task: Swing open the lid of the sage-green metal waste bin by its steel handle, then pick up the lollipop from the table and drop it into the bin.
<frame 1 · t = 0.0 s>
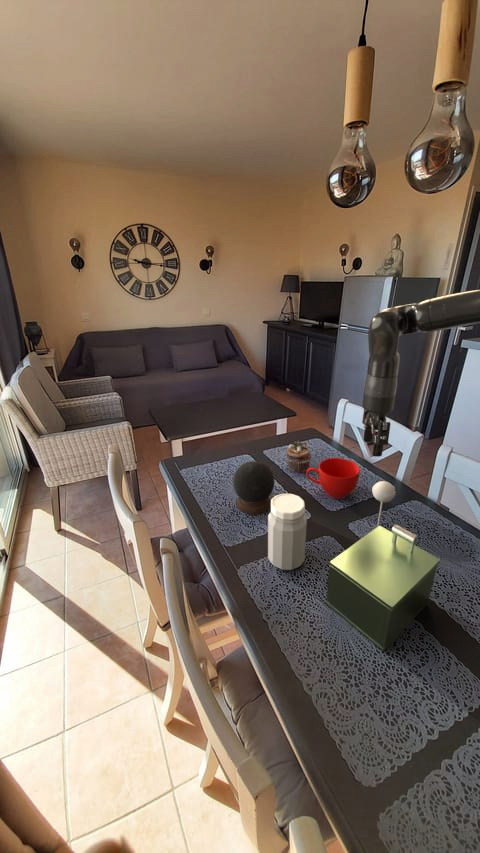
hand: (372, 448, 98), 25 cm above the table, tool pointing down, fingers open, 8 cm apart
cupcake: (298, 467, 139), on the table
jar: (286, 559, 96), on the table
ceramic cup: (330, 493, 123), on the table
bin: (376, 604, 82), on the table
bin lid: (386, 554, 76), point 14 cm above the table, hinge at 0.0°
snow globe: (253, 504, 118), on the table
lollipop: (378, 526, 106), on the table
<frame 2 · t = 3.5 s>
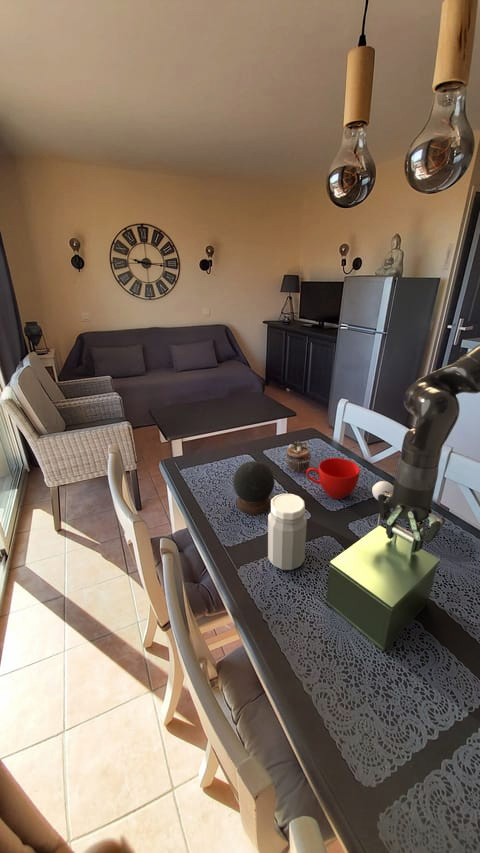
hand: (402, 543, 81), 14 cm above the table, tool pointing down, fingers closed on bin lid, 5 cm apart
bin lid: (386, 554, 76), point 14 cm above the table, hinge at 0.0°, touching gripper
everything else where it was.
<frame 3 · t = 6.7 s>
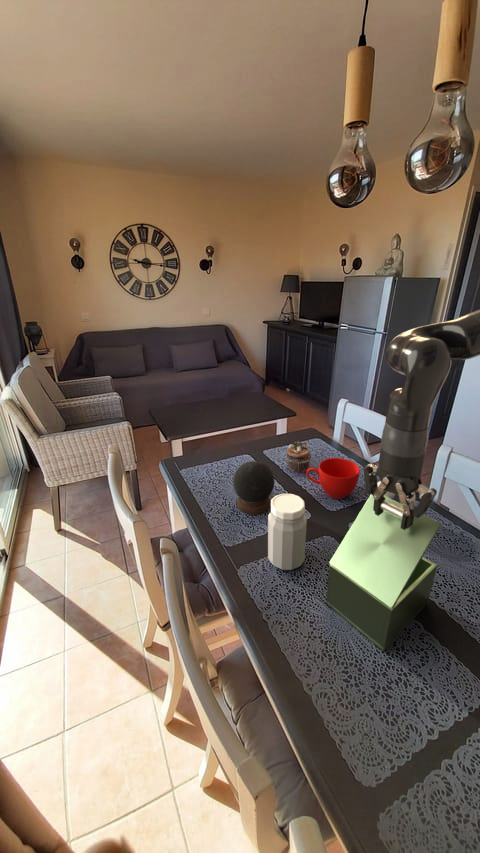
hand: (391, 520, 73), 24 cm above the table, tool pointing down, fingers closed on bin lid, 5 cm apart
bin lid: (378, 541, 72), point 20 cm above the table, hinge at 42.4°, touching gripper
everything else where it was.
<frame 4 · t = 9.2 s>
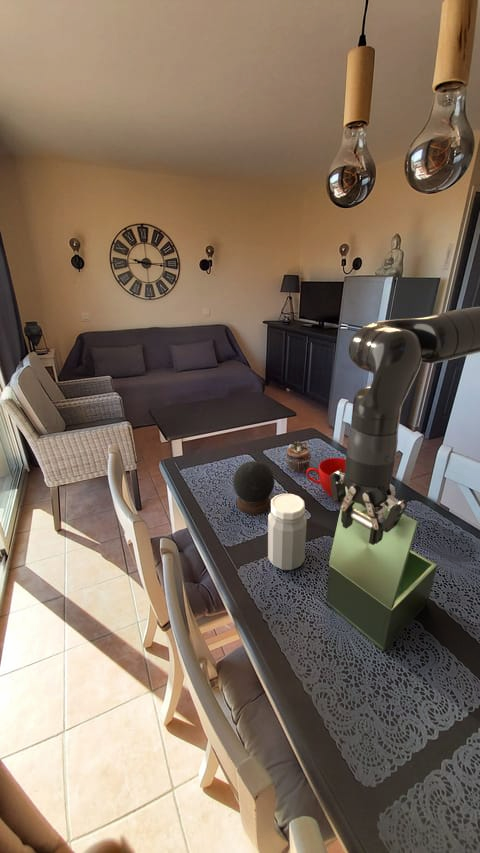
hand: (360, 533, 66), 26 cm above the table, tool pointing down, fingers closed on bin lid, 5 cm apart
bin lid: (361, 548, 68), point 22 cm above the table, hinge at 80.2°, touching gripper
everything else where it was.
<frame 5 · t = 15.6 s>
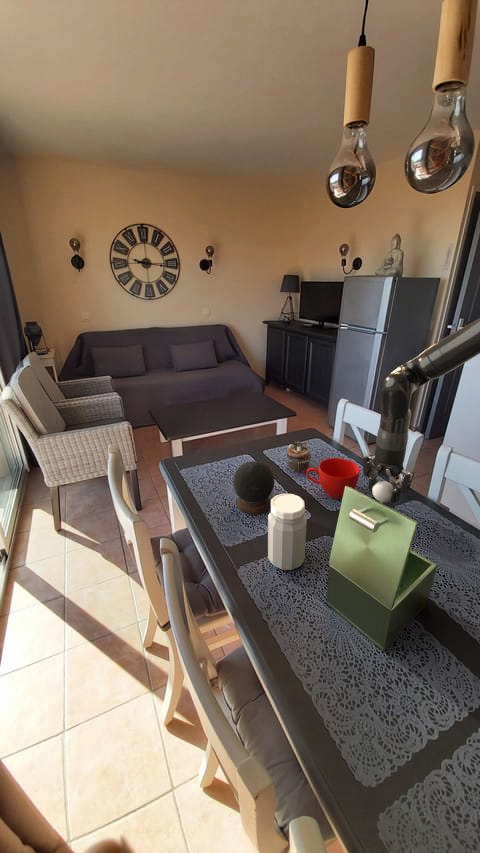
hand: (382, 495, 102), 11 cm above the table, tool pointing down, fingers closed on lollipop, 6 cm apart
bin lid: (361, 549, 68), point 22 cm above the table, hinge at 80.6°
lollipop: (378, 526, 106), on the table, touching gripper
everything else where it was.
when the fingers open (11 cm above the table, at t = 25.7 s): lollipop stays where it is, resting on bin.
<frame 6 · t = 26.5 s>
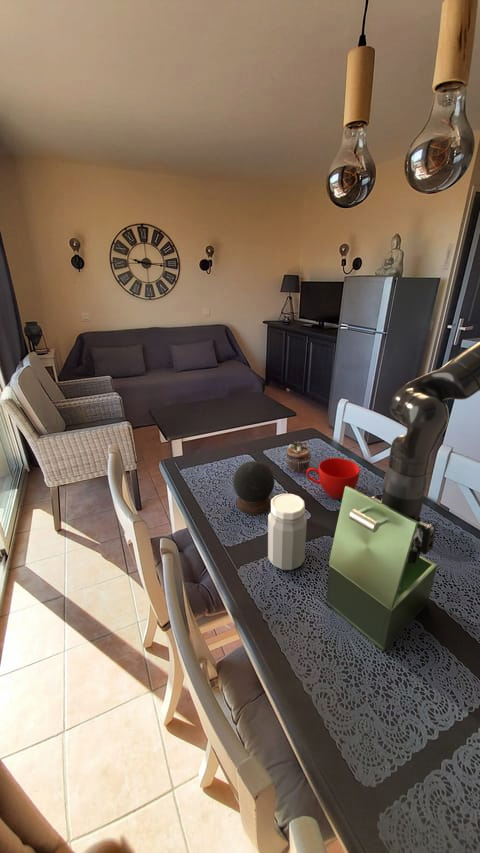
hand: (392, 550, 78), 14 cm above the table, tool pointing down, fingers open, 8 cm apart
lollipop: (384, 595, 83), point 1 cm above the table, touching bin
everything else where it was.
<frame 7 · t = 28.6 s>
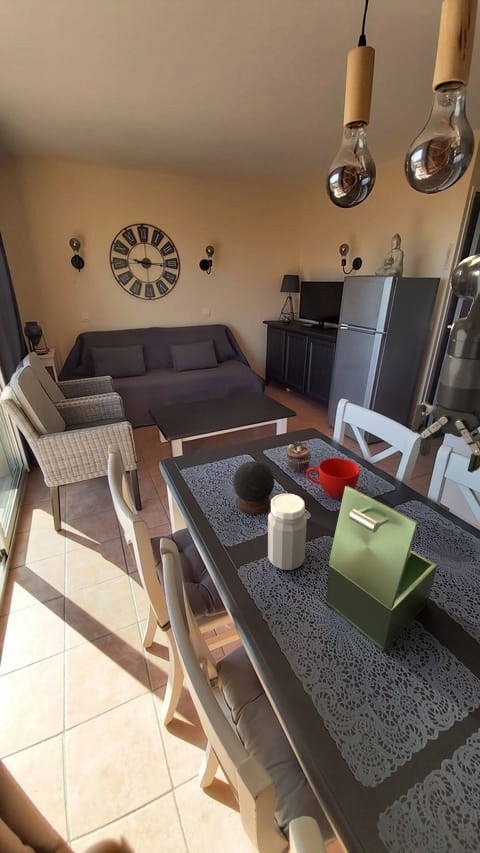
hand: (447, 462, 69), 36 cm above the table, tool pointing down, fingers open, 8 cm apart
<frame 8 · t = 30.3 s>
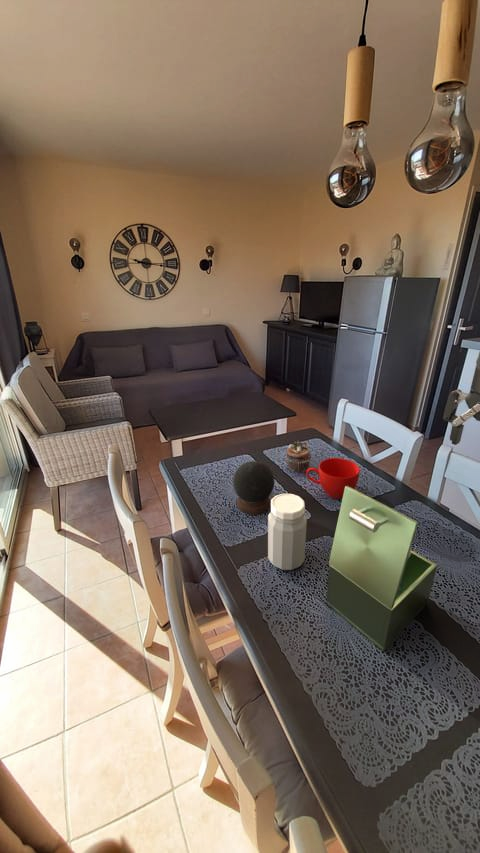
hand: (479, 450, 68), 38 cm above the table, tool pointing down, fingers open, 8 cm apart
at the end: bin lid at +81° (first picture: +0°); lollipop inside the target area in the bin (3.0 cm from its centre), point 0.7 cm above the bin's base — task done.
